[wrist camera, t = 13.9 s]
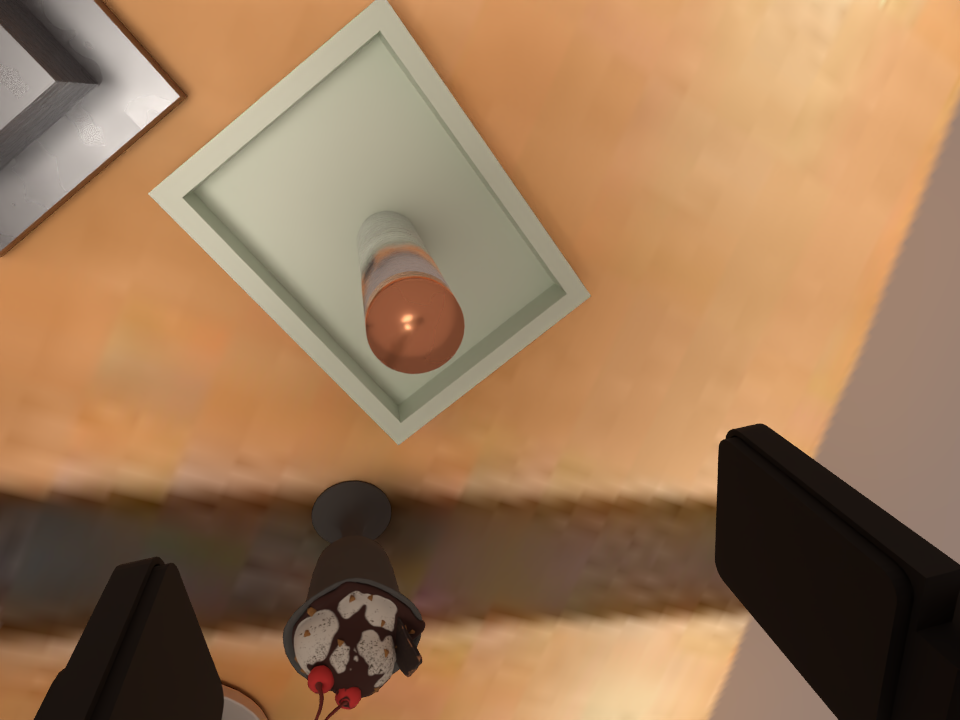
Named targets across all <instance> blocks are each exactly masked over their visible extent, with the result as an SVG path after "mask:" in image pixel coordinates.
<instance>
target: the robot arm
mask: <svg viewBox="0 0 960 720" xmlns="http://www.w3.org/2000/svg"><path fill="white" fill-rule="evenodd" d="M715 563H716V567H717V570H718V573H719V575H720V577H721V578H722V580H723V581H724V582H725V584H726V585H727V586H728V587H729V588H730V590H731V591H732V592H733V593H734V594H735V596H736V597H737V598H738V599H739V600H740V602H741V603H742V604H743V605H744V606H745V608H746V609H747V610H748V611H749V612H750V614H751V615H752V616H753V617H754V618H755V620H756V621H757V622H758V623H759V624H760V626H761V627H762V628H763V629H764V630H765V632H766V633H767V634H768V635H769V637H770V638H771V639H772V640H773V641H774V643H775V644H776V645H777V646H778V647H779V649H780V650H781V651H782V652H783V653H784V655H785V656H786V657H787V658H788V659H789V661H790V662H791V663H792V664H793V665H794V667H795V668H796V669H797V670H798V671H799V673H800V674H801V675H802V676H803V677H804V679H805V680H806V681H807V682H808V683H809V685H810V686H811V687H812V688H813V690H814V691H815V692H816V693H817V694H818V696H819V697H820V698H821V699H822V700H823V702H824V703H825V704H826V705H827V706H828V708H829V709H830V710H831V711H832V712H833V714H834V715H835V716H836V717H837V718H838V720H960V565H959V564H958V563H957V562H955V561H954V560H953V559H951V558H950V557H948V556H947V555H946V554H944V553H943V552H942V551H940V550H939V549H937V548H936V547H934V546H933V545H932V544H930V543H929V542H928V541H926V540H925V539H923V538H922V537H921V536H919V535H918V534H916V533H915V532H913V531H912V530H911V529H909V528H908V527H907V526H905V525H904V524H902V523H901V522H900V521H898V520H897V519H896V518H894V517H893V516H891V515H890V514H889V513H887V512H886V511H884V510H883V509H882V508H880V507H879V506H877V505H876V504H875V503H873V502H872V501H871V500H869V499H868V498H866V497H865V496H864V495H862V494H861V493H859V492H858V491H857V490H855V489H854V488H852V487H851V486H849V485H848V484H847V483H846V482H844V481H843V480H841V479H840V478H839V477H837V476H836V475H834V474H833V473H832V472H830V471H829V470H827V469H826V468H825V467H823V466H822V465H820V464H819V463H818V462H816V461H815V460H814V459H812V458H811V457H809V456H808V455H807V454H805V453H804V452H802V451H801V450H800V449H798V448H797V447H796V446H794V445H793V444H791V443H790V442H789V441H787V440H786V439H784V438H783V437H782V436H780V435H779V434H777V433H776V432H775V431H773V430H772V429H770V428H769V427H768V426H766V425H764V424H755V425H750V426H746V427H741V428H737V429H732V430H730V431H729V432H728V433H727V435H726V439H725V440H722V441H721V442H720V444H719V454H718V484H717V513H716V542H715ZM34 720H268V719H267V718H266V716H265V714H264V713H263V711H262V710H261V708H260V707H259V706H258V705H257V704H255V703H254V702H253V701H252V700H251V699H250V698H248V697H247V696H245V695H244V694H242V693H241V692H239V691H237V690H235V689H232V688H230V687H227V686H225V685H222V684H221V681H220V678H219V676H218V673H217V670H216V668H215V665H214V662H213V660H212V657H211V655H210V652H209V649H208V647H207V644H206V642H205V639H204V636H203V634H202V631H201V628H200V626H199V623H198V621H197V618H196V615H195V613H194V610H193V607H192V605H191V602H190V600H189V597H188V594H187V592H186V589H185V586H184V584H183V581H182V579H181V576H180V573H179V571H178V569H177V567H176V565H175V564H174V563H169V564H164V562H163V560H162V559H161V558H159V557H153V558H148V559H144V560H139V561H135V562H130V563H126V564H121V565H119V566H117V567H116V568H115V570H114V571H113V573H112V575H111V577H110V579H109V581H108V583H107V585H106V587H105V589H104V591H103V593H102V595H101V597H100V599H99V601H98V603H97V605H96V607H95V609H94V611H93V614H92V616H91V618H90V620H89V622H88V624H87V626H86V628H85V630H84V632H83V634H82V636H81V638H80V640H79V642H78V644H77V646H76V648H75V650H74V652H73V654H72V656H71V658H70V660H69V662H68V664H67V666H66V668H65V669H63V670H62V671H61V672H59V674H58V675H57V677H56V678H55V680H54V681H53V683H52V685H51V687H50V689H49V691H48V693H47V695H46V697H45V698H44V700H43V702H42V704H41V706H40V708H39V710H38V712H37V714H36V716H35V718H34Z"/></svg>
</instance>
